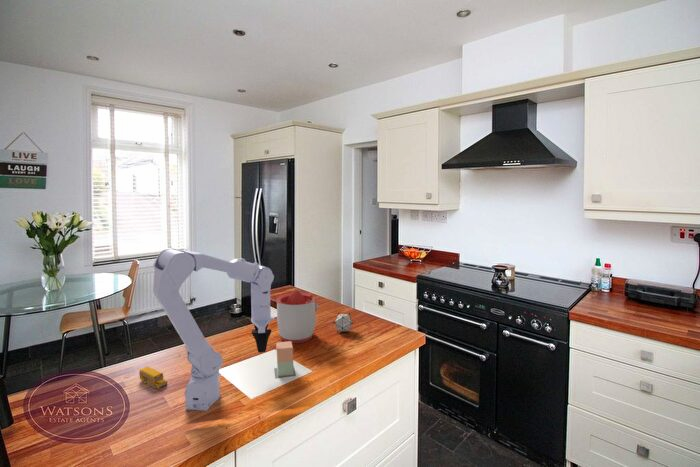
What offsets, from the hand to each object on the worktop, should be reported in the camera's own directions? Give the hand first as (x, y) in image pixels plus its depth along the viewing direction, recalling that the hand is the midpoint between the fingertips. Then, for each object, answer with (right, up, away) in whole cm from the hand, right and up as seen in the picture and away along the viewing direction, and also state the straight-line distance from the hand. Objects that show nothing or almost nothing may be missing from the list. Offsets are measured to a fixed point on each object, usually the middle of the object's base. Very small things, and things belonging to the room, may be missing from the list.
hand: (261, 346), depth 110 cm
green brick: (+7, -9, +3) cm, 12 cm away
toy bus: (-32, -11, -2) cm, 34 cm away
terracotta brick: (+7, -5, +2) cm, 8 cm away
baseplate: (0, -10, +4) cm, 11 cm away
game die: (+25, -6, +38) cm, 46 cm away
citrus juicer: (+7, -7, +31) cm, 33 cm away
